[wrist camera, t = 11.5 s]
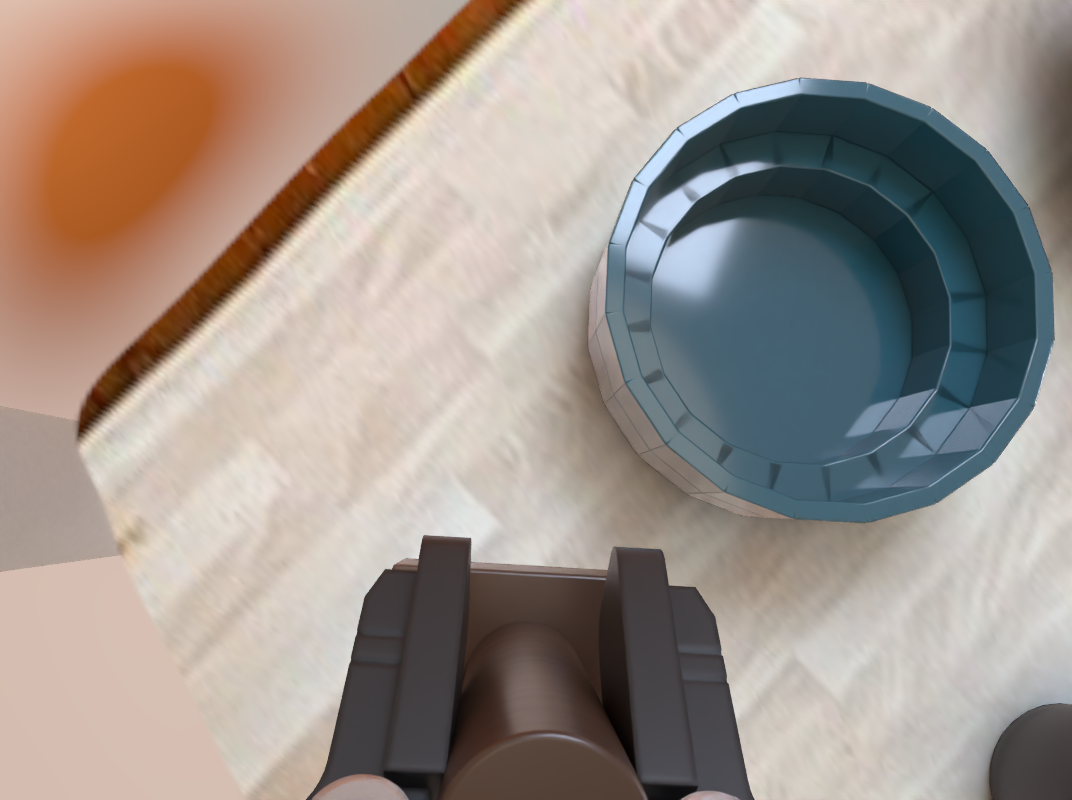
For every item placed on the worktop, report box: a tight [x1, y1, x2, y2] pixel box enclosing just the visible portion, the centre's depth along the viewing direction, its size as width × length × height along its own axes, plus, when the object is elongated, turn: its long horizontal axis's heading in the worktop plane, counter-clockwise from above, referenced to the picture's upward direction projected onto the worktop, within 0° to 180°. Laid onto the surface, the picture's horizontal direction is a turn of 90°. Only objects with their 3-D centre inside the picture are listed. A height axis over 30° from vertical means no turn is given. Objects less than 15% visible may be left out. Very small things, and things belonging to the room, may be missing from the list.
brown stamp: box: [392, 558, 648, 800], centre depth 13 cm, size 5×4×10 cm
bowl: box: [588, 78, 1055, 523], centre depth 28 cm, size 14×14×6 cm
